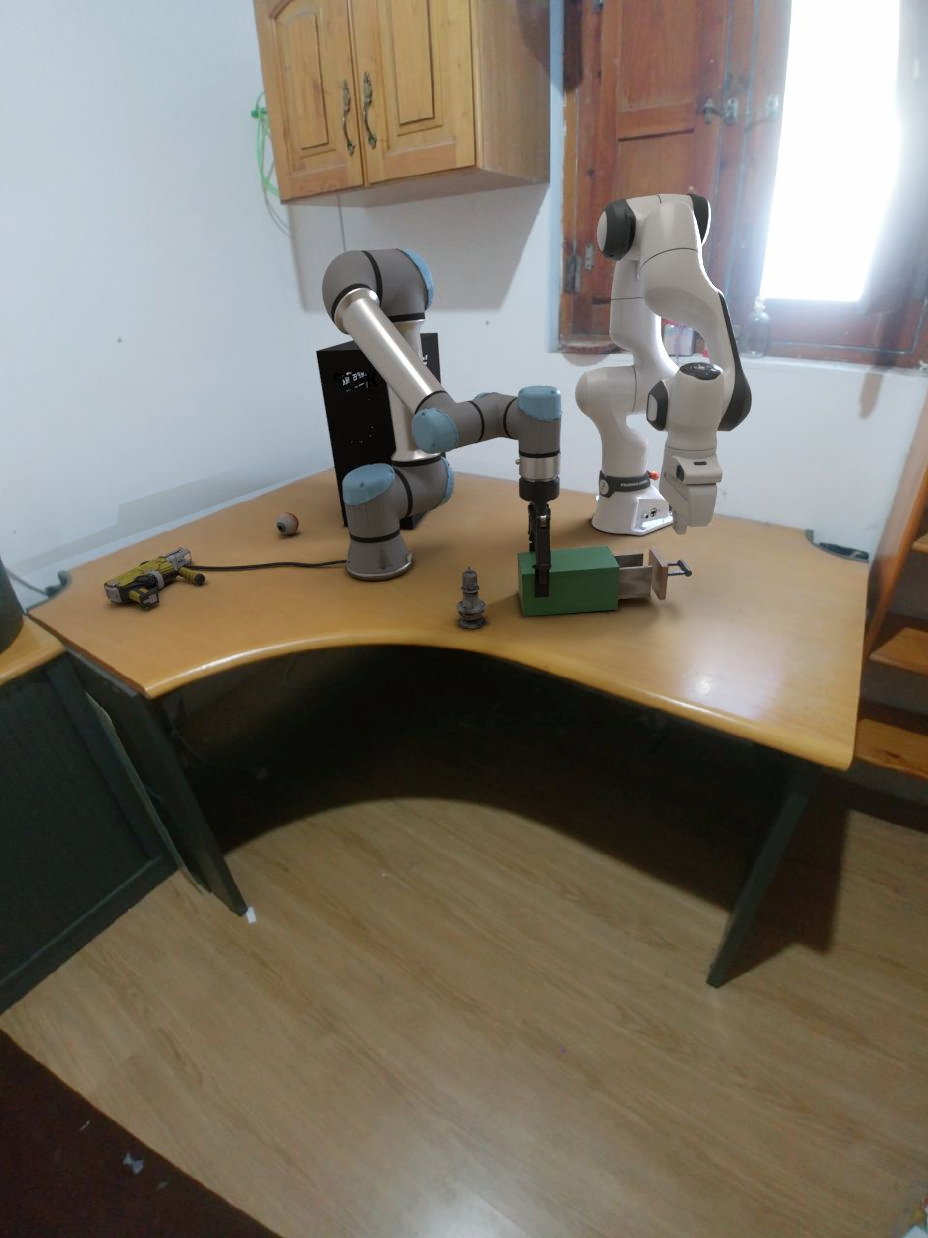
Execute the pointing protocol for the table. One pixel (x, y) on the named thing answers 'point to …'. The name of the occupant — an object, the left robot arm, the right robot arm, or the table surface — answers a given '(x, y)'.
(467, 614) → the grey chess piece
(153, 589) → the toy gun
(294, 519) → the eyeball
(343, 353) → the cardboard box
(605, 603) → the cabinet
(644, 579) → the drawer
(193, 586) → the table surface
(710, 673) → the table surface
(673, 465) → the right robot arm
